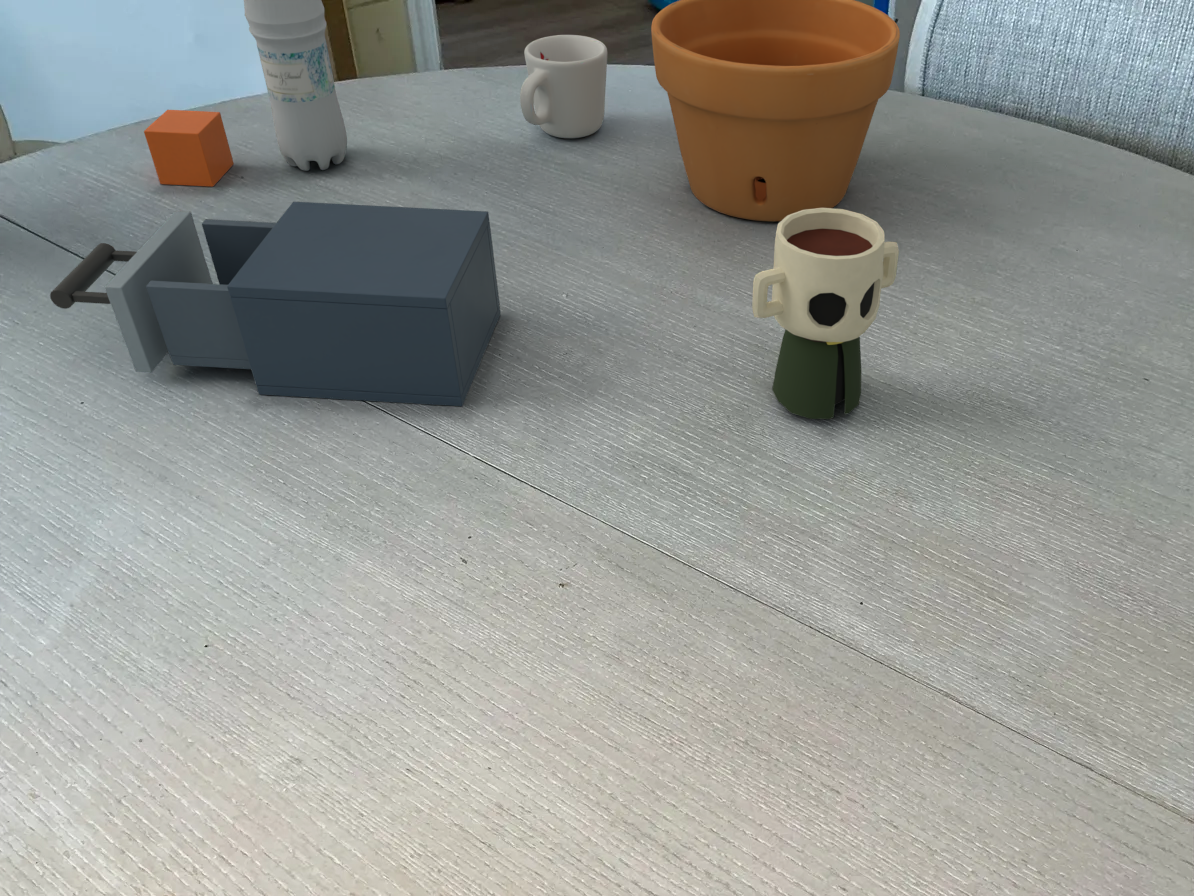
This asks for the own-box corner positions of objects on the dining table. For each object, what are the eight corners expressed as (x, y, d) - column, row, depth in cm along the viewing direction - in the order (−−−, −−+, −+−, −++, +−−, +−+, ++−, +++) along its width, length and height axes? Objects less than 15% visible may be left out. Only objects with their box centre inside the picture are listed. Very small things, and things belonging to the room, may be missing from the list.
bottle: (267, 171, 110) (209, -61, 97) (302, 143, 115) (252, -82, 102) (332, 180, 109) (283, -54, 96) (365, 151, 114) (323, -75, 101)
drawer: (56, 367, 83) (20, 282, 79) (129, 287, 92) (100, 206, 87) (322, 383, 83) (301, 297, 78) (370, 300, 91) (354, 219, 87)
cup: (561, 162, 113) (555, 78, 107) (497, 143, 116) (487, 60, 110) (626, 125, 120) (623, 44, 114) (563, 108, 123) (558, 28, 117)
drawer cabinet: (258, 394, 83) (226, 286, 77) (317, 303, 92) (293, 201, 87) (462, 406, 82) (445, 298, 77) (501, 313, 92) (488, 210, 86)
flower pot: (663, 138, 117) (661, -20, 108) (874, 145, 117) (891, -13, 107) (644, 237, 102) (640, 63, 92) (888, 246, 101) (910, 71, 91)
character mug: (773, 447, 79) (783, 274, 71) (725, 393, 84) (729, 224, 75) (908, 407, 83) (933, 238, 75) (854, 357, 88) (873, 193, 79)
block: (159, 184, 108) (143, 131, 104) (182, 161, 111) (167, 109, 108) (213, 187, 107) (198, 133, 104) (234, 164, 111) (220, 111, 108)
